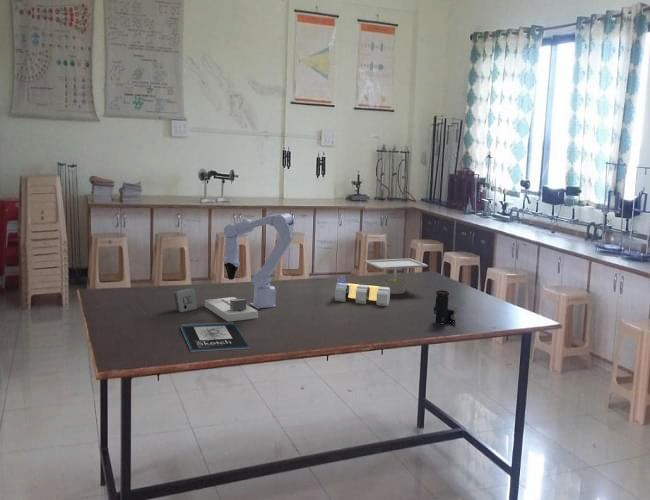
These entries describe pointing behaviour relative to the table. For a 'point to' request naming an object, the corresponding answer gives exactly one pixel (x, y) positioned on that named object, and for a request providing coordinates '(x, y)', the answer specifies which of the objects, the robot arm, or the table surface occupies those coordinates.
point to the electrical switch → (185, 300)
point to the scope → (443, 308)
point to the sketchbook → (213, 337)
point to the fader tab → (237, 304)
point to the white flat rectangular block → (224, 311)
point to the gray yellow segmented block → (361, 292)
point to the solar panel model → (395, 271)
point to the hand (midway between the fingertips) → (230, 279)
